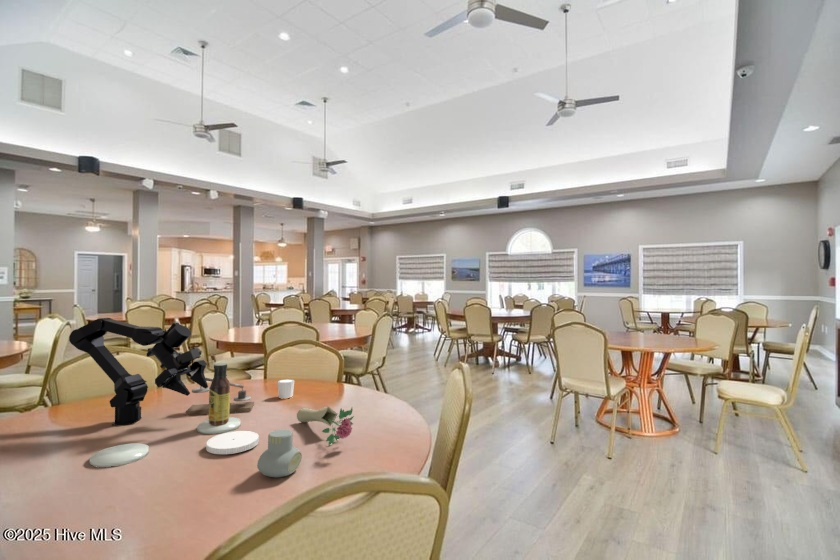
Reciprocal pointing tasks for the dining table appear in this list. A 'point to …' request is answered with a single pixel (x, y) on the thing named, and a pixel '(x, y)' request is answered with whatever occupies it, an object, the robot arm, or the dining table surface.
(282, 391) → the white short cylinder
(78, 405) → the dining table surface
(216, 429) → the dish right
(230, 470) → the dining table surface
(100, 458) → the dish left
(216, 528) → the dining table surface
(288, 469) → the air freshener
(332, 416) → the flower vase
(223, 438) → the plastic lid
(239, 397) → the balance scale
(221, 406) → the sauce bottle
